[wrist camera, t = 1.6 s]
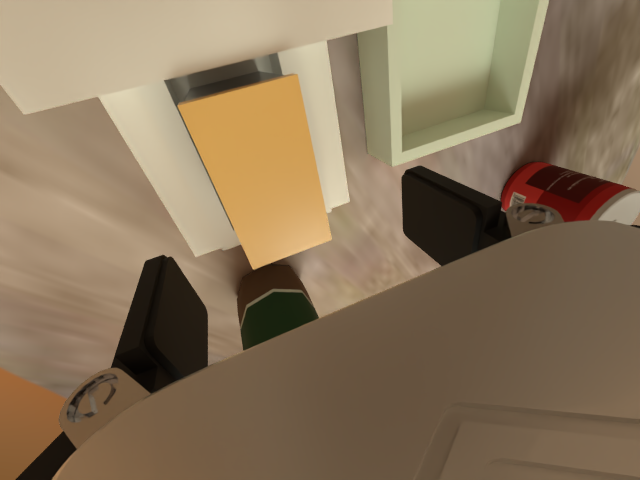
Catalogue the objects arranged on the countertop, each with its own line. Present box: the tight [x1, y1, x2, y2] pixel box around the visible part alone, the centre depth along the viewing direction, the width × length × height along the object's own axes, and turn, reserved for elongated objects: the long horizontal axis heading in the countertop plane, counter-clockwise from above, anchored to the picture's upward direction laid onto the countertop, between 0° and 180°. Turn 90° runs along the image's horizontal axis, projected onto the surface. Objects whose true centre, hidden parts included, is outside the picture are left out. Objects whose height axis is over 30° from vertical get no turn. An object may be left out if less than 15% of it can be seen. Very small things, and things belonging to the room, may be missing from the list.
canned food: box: [501, 162, 640, 225], centre depth 34 cm, size 8×8×11 cm
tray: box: [357, 0, 549, 167], centre depth 22 cm, size 16×14×4 cm
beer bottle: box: [237, 264, 319, 351], centre depth 23 cm, size 8×8×24 cm
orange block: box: [177, 71, 332, 270], centre depth 18 cm, size 9×5×10 cm, turn 12°
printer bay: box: [0, 0, 393, 257], centre depth 18 cm, size 20×16×10 cm
